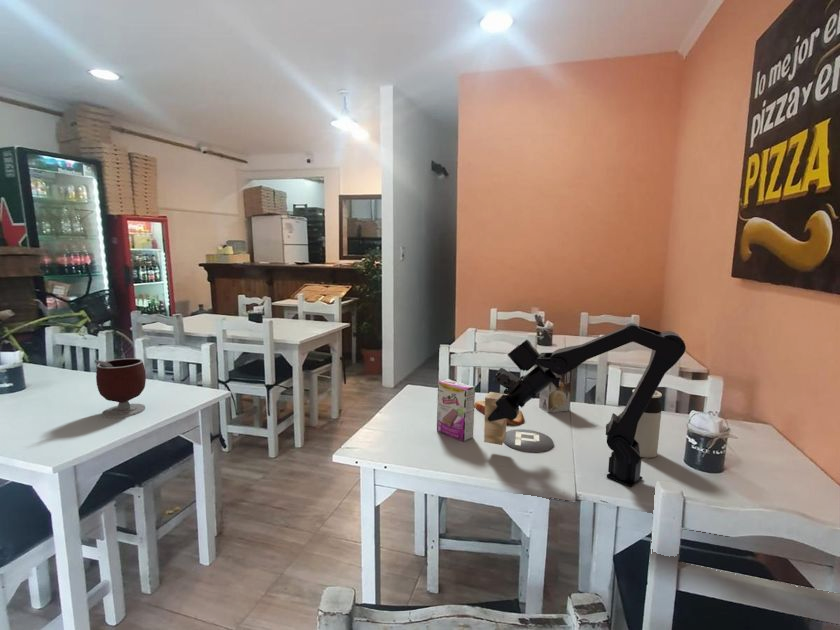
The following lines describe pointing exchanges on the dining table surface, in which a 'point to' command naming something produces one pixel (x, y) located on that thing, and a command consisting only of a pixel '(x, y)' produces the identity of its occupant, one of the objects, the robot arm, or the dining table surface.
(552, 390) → the coffee box
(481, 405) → the slice of bread
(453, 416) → the candy bar box
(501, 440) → the oak block
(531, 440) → the letter board
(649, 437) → the travel mug
